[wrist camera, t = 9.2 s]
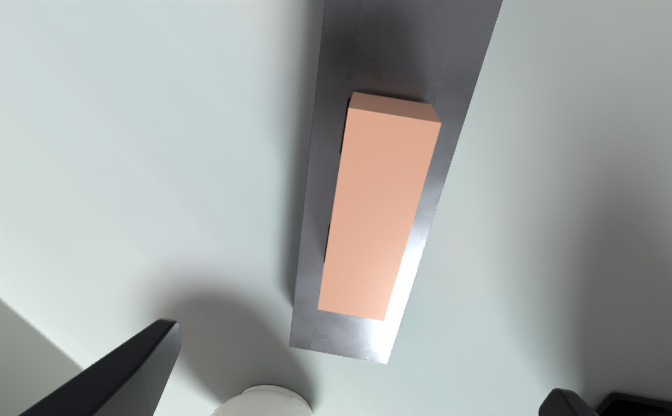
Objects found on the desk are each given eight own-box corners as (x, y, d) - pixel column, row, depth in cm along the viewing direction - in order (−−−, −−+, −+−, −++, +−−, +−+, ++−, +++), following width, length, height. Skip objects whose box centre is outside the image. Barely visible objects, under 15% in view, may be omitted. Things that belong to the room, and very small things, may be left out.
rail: (510, -88, 13) (536, -107, 11) (385, 331, 24) (386, 364, 22) (346, -112, 13) (339, -136, 11) (297, 315, 24) (289, 346, 22)
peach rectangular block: (423, 88, 16) (441, 123, 11) (382, 248, 21) (384, 321, 16) (357, 78, 16) (348, 107, 11) (331, 239, 21) (317, 309, 16)
